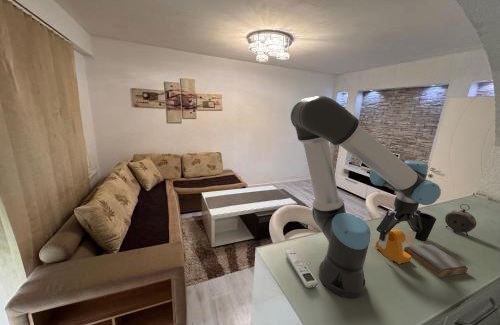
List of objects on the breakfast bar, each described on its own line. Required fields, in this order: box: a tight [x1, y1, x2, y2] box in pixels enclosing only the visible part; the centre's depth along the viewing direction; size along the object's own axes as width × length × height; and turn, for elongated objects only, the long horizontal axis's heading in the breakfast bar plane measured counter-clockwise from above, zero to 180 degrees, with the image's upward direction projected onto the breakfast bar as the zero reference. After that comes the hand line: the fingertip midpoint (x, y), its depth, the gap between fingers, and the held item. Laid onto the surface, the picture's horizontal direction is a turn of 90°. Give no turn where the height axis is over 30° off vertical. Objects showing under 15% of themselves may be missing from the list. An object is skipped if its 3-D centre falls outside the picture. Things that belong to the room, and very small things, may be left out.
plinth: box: [403, 244, 469, 278], centre depth 84 cm, size 14×14×3 cm
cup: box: [414, 212, 437, 242], centre depth 99 cm, size 8×8×12 cm
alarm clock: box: [444, 203, 477, 237], centre depth 105 cm, size 11×5×16 cm, turn 28°
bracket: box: [374, 228, 412, 265], centre depth 86 cm, size 11×7×12 cm, turn 18°
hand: (395, 245), depth 86 cm, fingers open, 13 cm apart
